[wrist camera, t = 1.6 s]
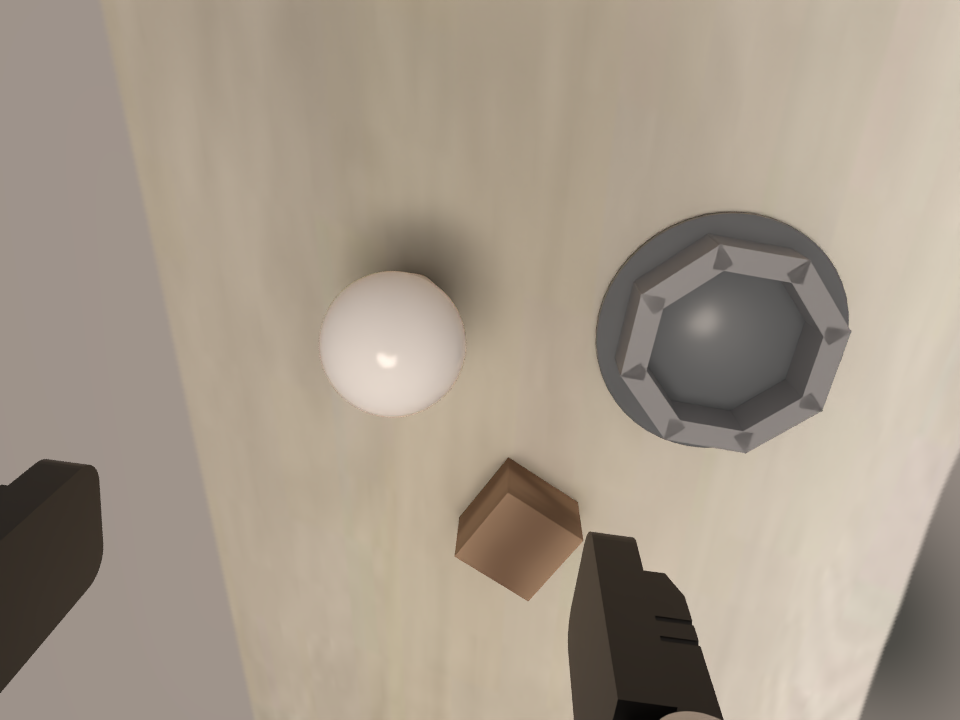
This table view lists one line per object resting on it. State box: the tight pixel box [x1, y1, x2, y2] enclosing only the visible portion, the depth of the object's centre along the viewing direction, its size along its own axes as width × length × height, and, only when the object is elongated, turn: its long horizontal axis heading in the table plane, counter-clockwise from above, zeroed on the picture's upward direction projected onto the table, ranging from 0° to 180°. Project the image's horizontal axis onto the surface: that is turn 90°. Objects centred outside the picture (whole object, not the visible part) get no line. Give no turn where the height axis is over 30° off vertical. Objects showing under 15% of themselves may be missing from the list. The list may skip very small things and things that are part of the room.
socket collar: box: [596, 212, 851, 453], centre depth 39 cm, size 13×13×3 cm
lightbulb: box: [319, 271, 466, 417], centre depth 35 cm, size 6×6×11 cm
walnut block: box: [455, 457, 583, 601], centre depth 43 cm, size 5×5×4 cm
